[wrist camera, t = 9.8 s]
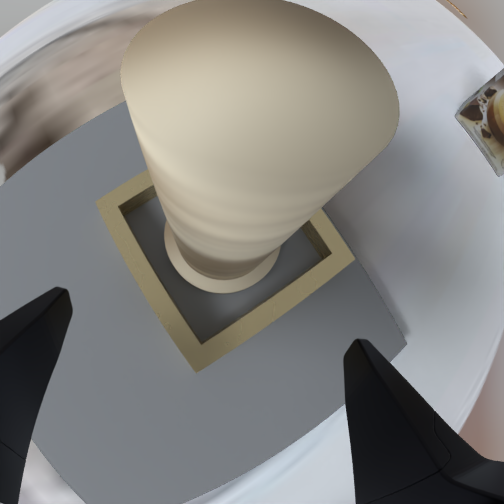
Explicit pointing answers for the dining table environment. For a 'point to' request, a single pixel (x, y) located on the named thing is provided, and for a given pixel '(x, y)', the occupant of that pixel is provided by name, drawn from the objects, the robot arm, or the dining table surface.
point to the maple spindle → (250, 127)
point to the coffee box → (487, 120)
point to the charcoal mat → (165, 336)
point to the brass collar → (246, 325)
